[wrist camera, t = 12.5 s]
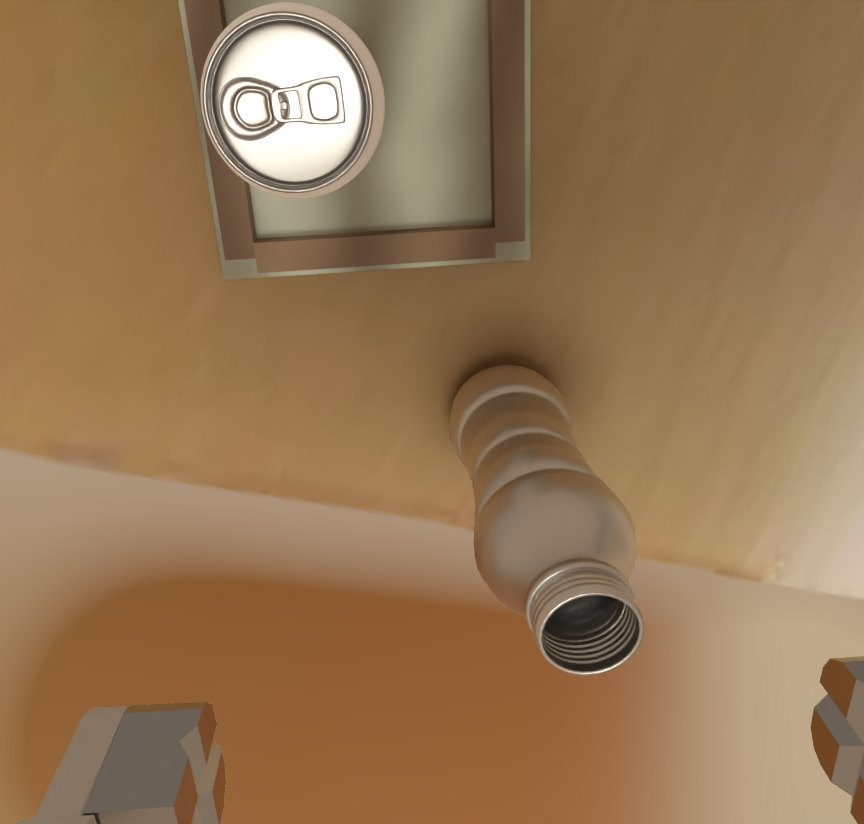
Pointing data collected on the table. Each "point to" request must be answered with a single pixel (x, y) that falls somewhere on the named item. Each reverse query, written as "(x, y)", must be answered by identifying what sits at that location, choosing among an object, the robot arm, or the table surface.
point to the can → (292, 100)
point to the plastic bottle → (546, 521)
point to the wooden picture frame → (395, 146)
